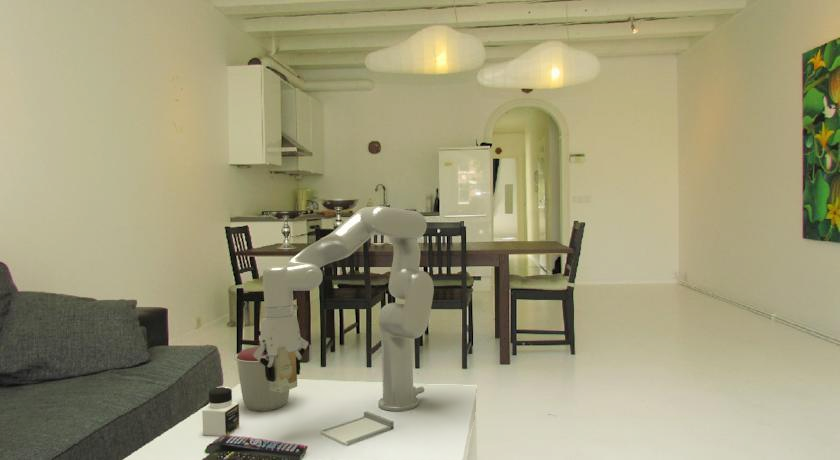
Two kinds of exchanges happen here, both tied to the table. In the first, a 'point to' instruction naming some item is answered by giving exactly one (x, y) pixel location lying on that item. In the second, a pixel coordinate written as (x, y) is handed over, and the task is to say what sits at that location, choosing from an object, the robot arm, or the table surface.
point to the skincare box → (284, 371)
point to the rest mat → (358, 429)
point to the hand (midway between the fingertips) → (283, 376)
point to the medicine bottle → (220, 413)
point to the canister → (257, 383)
